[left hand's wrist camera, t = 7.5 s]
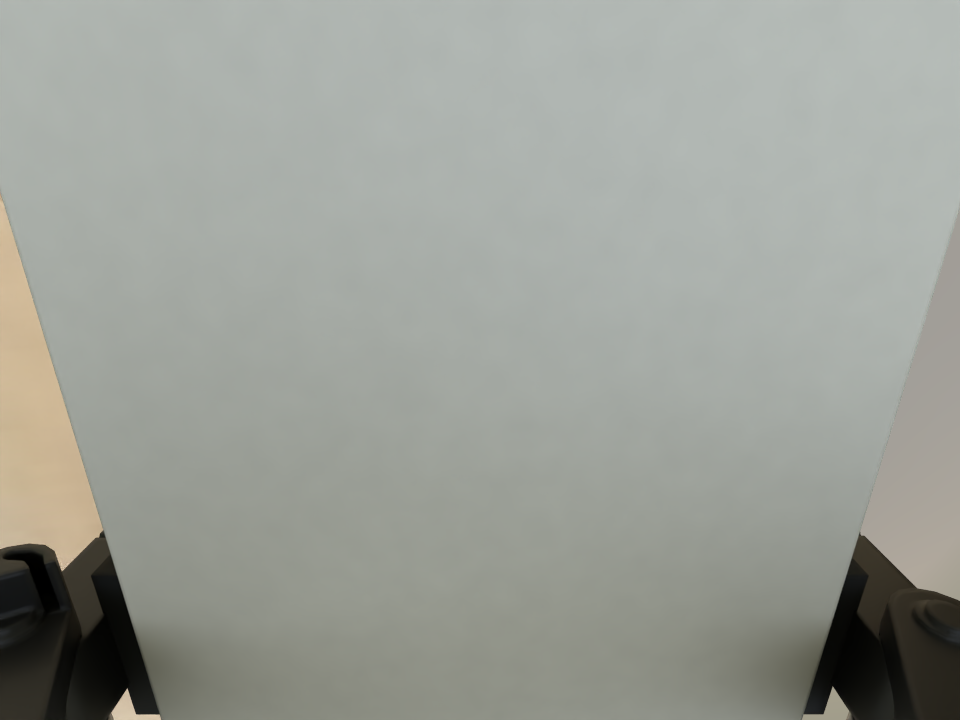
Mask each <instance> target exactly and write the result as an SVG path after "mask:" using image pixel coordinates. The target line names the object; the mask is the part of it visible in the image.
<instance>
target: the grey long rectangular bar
mask: <svg viewBox="0 0 960 720" xmlns="http://www.w3.org/2000/svg"><path fill="white" fill-rule="evenodd" d="M0 193H1V196H2V199H3V203H4V206H5V209H6V212H7V216H8V219H9V222H10V225H11V229H12V232H13V235H14V239H15V242H16V245H17V248H18V252H19V255H20V258H21V261H22V265H23V268H24V271H25V275H26V278H27V281H28V284H29V288H30V291H31V294H32V297H33V301H34V304H35V307H36V311H37V314H38V317H39V320H40V324H41V327H42V330H43V334H44V337H45V340H46V343H47V347H48V350H49V353H50V356H51V360H52V363H53V366H54V370H55V373H56V376H57V379H58V383H59V386H60V389H61V392H62V396H63V399H64V402H65V406H66V409H67V412H68V415H69V419H70V422H71V425H72V428H73V432H74V435H75V438H76V442H77V445H78V448H79V451H80V455H81V458H82V461H83V464H84V468H85V471H86V474H87V478H88V481H89V484H90V487H91V491H92V494H93V497H94V501H95V504H96V507H97V510H98V514H99V517H100V520H101V523H102V527H103V530H104V533H105V537H106V540H107V543H108V546H109V550H110V553H111V556H112V559H113V563H114V566H115V569H116V573H117V576H118V579H119V582H120V586H121V589H122V592H123V595H124V599H125V602H126V605H127V609H128V612H129V615H130V618H131V622H132V625H133V628H134V631H135V635H136V638H137V641H138V645H139V648H140V651H141V654H142V658H143V661H144V664H145V667H146V671H147V674H148V677H149V681H150V684H151V687H152V690H153V694H154V697H155V700H156V704H157V707H158V710H159V713H160V717H161V720H802V717H803V714H804V711H805V708H806V704H807V701H808V698H809V695H810V691H811V688H812V685H813V682H814V678H815V675H816V672H817V669H818V665H819V662H820V659H821V656H822V653H823V649H824V646H825V643H826V640H827V636H828V633H829V630H830V627H831V623H832V620H833V617H834V614H835V610H836V607H837V604H838V601H839V598H840V594H841V591H842V588H843V585H844V581H845V578H846V575H847V572H848V568H849V565H850V562H851V559H852V555H853V552H854V549H855V546H856V542H857V539H858V536H859V533H860V529H861V526H862V523H863V520H864V517H865V513H866V510H867V507H868V504H869V500H870V497H871V494H872V491H873V487H874V484H875V481H876V478H877V475H878V471H879V468H880V465H881V461H882V458H883V455H884V452H885V448H886V445H887V442H888V439H889V436H890V432H891V429H892V426H893V423H894V419H895V416H896V413H897V410H898V407H899V403H900V400H901V397H902V393H903V390H904V387H905V384H906V381H907V377H908V374H909V371H910V368H911V364H912V361H913V358H914V355H915V352H916V348H917V345H918V342H919V338H920V335H921V332H922V329H923V326H924V322H925V319H926V316H927V313H928V309H929V306H930V303H931V300H932V297H933V293H934V290H935V287H936V284H937V280H938V277H939V274H940V270H941V267H942V264H943V261H944V258H945V254H946V251H947V248H948V245H949V241H950V238H951V235H952V232H953V228H954V225H955V222H956V219H957V215H958V212H959V209H960V0H0Z"/></svg>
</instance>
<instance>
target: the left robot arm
mask: <svg viewBox="0 0 960 720" xmlns="http://www.w3.org/2000/svg"><path fill="white" fill-rule="evenodd" d="M832 686H833V687H834V689H835V690H836V692H837V693H838V695H839V696H840V698H841V699H842V701H843V702H844V704H845V705H846V707H847V708H848V710H849V714H848V716H847V719H846V720H960V601H958V600H956V599H954V598H951V597H948V596H945V595H943V594H940V593H937V592H934V591H928V590H923V589H917V588H916V587H915V586H914V585H913V584H912V583H911V582H910V581H909V580H908V579H907V578H906V577H905V576H904V575H903V574H902V573H901V572H900V571H899V570H898V569H897V568H896V567H895V566H894V565H893V564H892V563H891V562H890V561H889V560H888V559H887V558H886V557H885V556H884V555H883V554H882V553H881V552H880V551H879V550H878V549H877V548H876V547H875V546H874V545H873V544H872V543H871V542H870V541H869V540H868V539H867V538H866V537H865V536H861V535H860V533H859V536H858V539H857V542H856V546H855V549H854V552H853V555H852V559H851V562H850V565H849V568H848V572H847V575H846V578H845V581H844V585H843V588H842V591H841V594H840V598H839V601H838V604H837V607H836V610H835V614H834V617H833V620H832V623H831V627H830V630H829V633H828V636H827V640H826V643H825V646H824V649H823V653H822V656H821V659H820V662H819V665H818V669H817V672H816V675H815V678H814V682H813V685H812V688H811V691H810V695H809V698H808V701H807V704H806V708H805V711H804V714H824V711H825V708H826V705H827V702H828V699H829V696H830V693H831V690H832ZM127 688H128V691H129V694H130V697H131V700H132V703H133V706H134V709H135V712H136V714H160V713H159V710H158V707H157V704H156V700H155V697H154V694H153V690H152V687H151V684H150V681H149V677H148V674H147V671H146V667H145V664H144V661H143V658H142V654H141V651H140V648H139V645H138V641H137V638H136V635H135V631H134V628H133V625H132V622H131V618H130V615H129V612H128V609H127V605H126V602H125V599H124V595H123V592H122V589H121V586H120V582H119V579H118V576H117V573H116V569H115V566H114V563H113V559H112V556H111V553H110V550H109V546H108V543H107V540H106V537H105V533H104V530H103V531H102V532H101V533H100V537H99V538H95V539H94V540H93V541H92V542H91V543H90V544H89V545H88V546H87V547H86V548H85V549H84V550H83V551H82V552H81V553H80V554H79V555H78V556H77V557H76V558H75V559H74V560H73V561H72V562H71V563H70V564H69V565H68V566H67V567H66V568H65V569H64V570H63V571H61V568H60V565H59V563H58V560H57V557H56V554H55V551H53V550H52V549H50V548H49V547H47V546H46V545H38V544H24V545H17V546H11V547H6V548H3V549H0V720H114V719H113V716H112V714H111V712H112V711H113V709H114V708H115V706H116V704H117V703H118V701H119V700H120V698H121V697H122V695H123V694H124V692H125V691H126V689H127Z"/></svg>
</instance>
